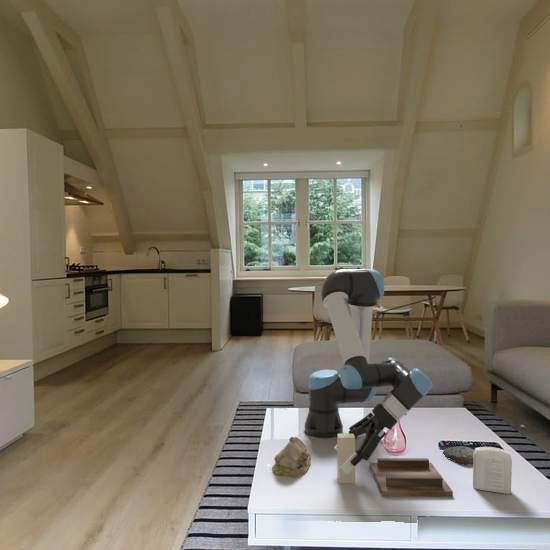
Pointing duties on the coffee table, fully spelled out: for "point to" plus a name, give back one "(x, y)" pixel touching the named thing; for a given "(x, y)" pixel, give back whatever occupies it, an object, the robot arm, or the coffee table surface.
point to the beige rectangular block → (345, 457)
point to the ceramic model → (292, 459)
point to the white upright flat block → (492, 470)
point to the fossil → (460, 454)
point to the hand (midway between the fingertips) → (340, 460)
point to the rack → (408, 477)
